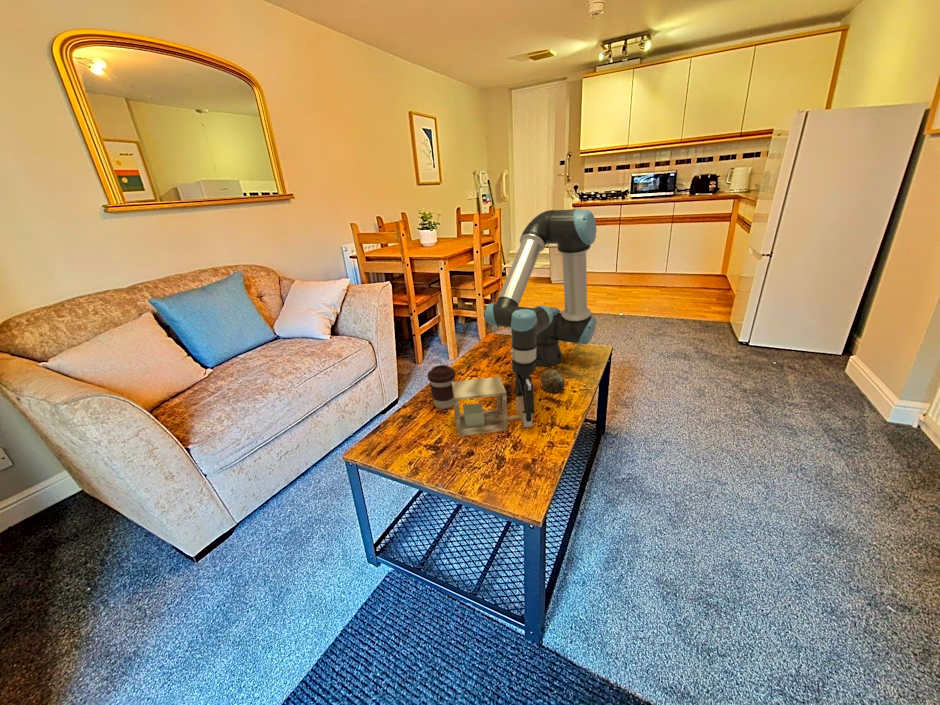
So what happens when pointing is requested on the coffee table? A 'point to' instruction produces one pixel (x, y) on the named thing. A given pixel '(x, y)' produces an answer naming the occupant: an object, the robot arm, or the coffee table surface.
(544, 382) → the seashell
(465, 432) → the frame
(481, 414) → the tethered block
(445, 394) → the coffee cup
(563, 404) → the coffee table surface
